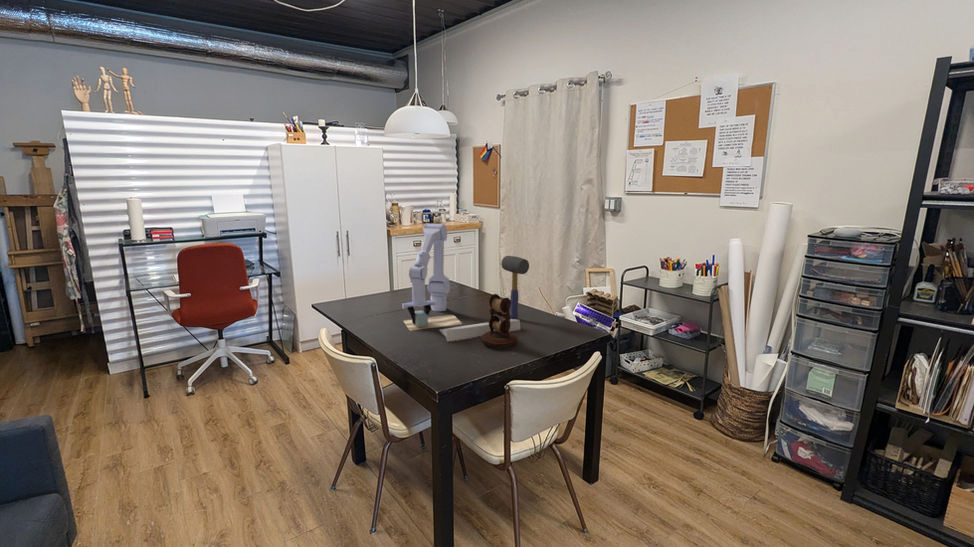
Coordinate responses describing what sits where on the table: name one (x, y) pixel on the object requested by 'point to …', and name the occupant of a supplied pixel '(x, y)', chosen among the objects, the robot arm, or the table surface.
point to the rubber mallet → (514, 278)
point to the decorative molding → (473, 330)
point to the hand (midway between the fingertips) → (419, 322)
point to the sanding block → (421, 319)
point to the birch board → (434, 322)
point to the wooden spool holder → (499, 324)
